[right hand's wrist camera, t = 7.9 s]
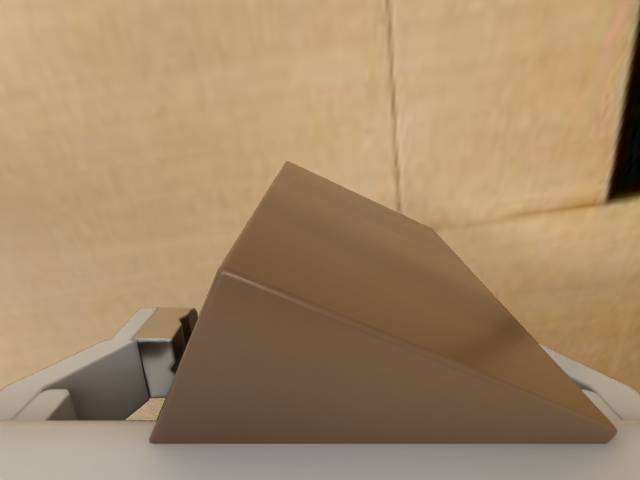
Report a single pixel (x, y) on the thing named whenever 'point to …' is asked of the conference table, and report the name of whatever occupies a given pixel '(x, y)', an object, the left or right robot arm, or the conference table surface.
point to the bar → (361, 339)
